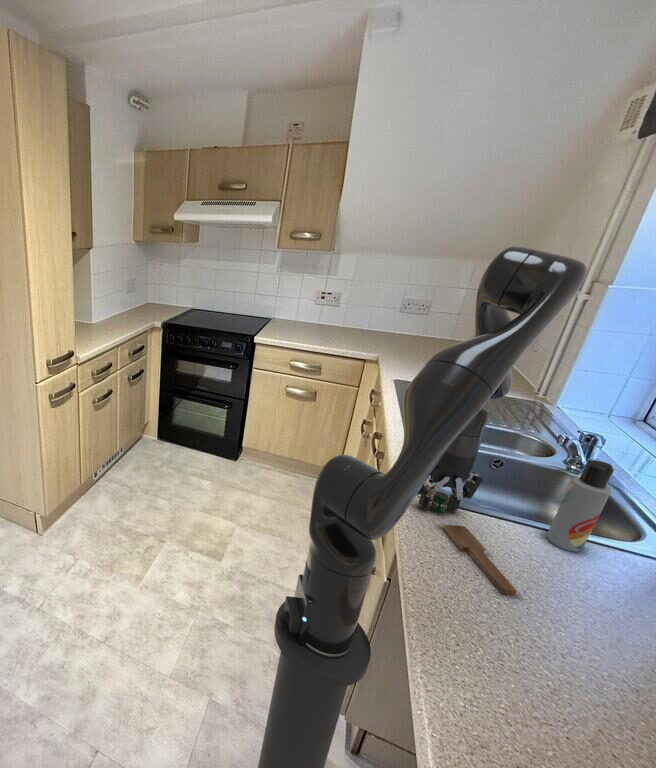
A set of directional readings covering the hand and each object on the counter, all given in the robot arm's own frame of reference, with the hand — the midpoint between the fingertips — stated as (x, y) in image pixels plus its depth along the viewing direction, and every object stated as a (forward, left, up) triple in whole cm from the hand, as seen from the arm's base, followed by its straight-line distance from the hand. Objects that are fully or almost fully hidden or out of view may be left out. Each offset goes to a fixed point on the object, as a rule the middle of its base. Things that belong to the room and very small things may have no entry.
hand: (436, 508), depth 100 cm
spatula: (0, -16, 0) cm, 16 cm away
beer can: (0, 0, -1) cm, 1 cm away
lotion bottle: (+22, -8, -1) cm, 23 cm away
